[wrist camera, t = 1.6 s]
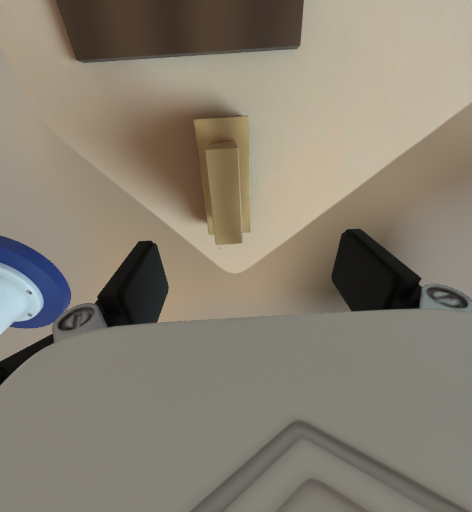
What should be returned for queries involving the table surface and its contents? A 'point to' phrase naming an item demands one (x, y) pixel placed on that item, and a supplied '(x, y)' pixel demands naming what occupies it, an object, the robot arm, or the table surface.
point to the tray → (179, 27)
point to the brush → (225, 175)
